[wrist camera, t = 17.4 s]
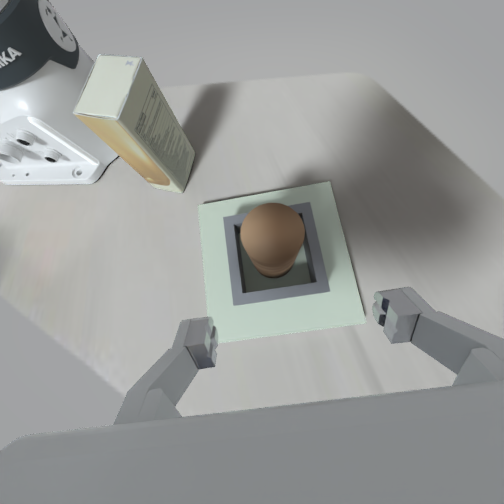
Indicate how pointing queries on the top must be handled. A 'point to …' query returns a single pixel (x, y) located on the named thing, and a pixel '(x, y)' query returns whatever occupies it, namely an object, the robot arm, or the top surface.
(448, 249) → the top surface
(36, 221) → the top surface
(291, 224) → the brown dome-topped peg
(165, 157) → the skincare box
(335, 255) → the collar holder
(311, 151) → the top surface
